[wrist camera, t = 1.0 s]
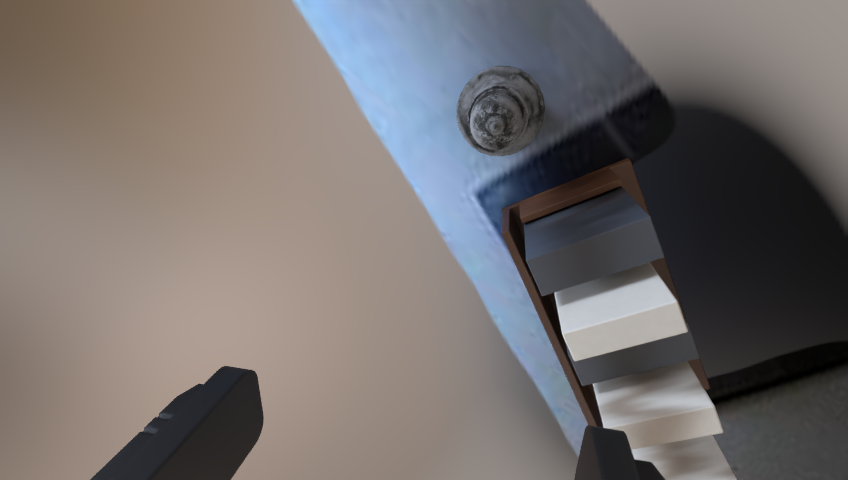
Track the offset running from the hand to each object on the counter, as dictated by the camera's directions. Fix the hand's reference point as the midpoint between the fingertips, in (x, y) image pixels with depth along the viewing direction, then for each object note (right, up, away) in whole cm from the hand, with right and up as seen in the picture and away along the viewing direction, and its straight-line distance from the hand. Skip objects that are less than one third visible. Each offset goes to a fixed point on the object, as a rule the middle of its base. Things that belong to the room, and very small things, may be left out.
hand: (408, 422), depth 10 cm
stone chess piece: (+6, +14, +22) cm, 27 cm away
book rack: (+16, 0, +25) cm, 30 cm away
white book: (+13, +4, +23) cm, 27 cm away
